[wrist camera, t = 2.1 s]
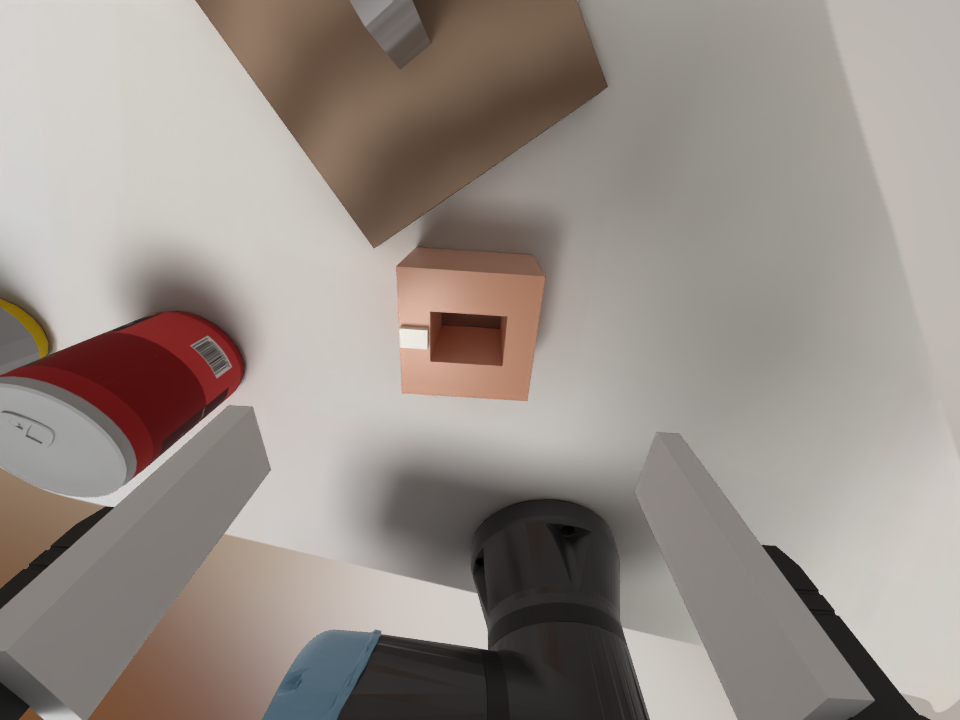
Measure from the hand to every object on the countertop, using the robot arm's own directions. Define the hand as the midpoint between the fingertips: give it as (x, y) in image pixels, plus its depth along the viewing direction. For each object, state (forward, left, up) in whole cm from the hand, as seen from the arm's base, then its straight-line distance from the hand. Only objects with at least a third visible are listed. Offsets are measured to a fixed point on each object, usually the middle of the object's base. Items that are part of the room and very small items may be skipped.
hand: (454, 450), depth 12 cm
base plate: (+15, -5, -16) cm, 22 cm away
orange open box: (0, 0, -16) cm, 16 cm away
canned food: (+8, +21, -16) cm, 28 cm away
